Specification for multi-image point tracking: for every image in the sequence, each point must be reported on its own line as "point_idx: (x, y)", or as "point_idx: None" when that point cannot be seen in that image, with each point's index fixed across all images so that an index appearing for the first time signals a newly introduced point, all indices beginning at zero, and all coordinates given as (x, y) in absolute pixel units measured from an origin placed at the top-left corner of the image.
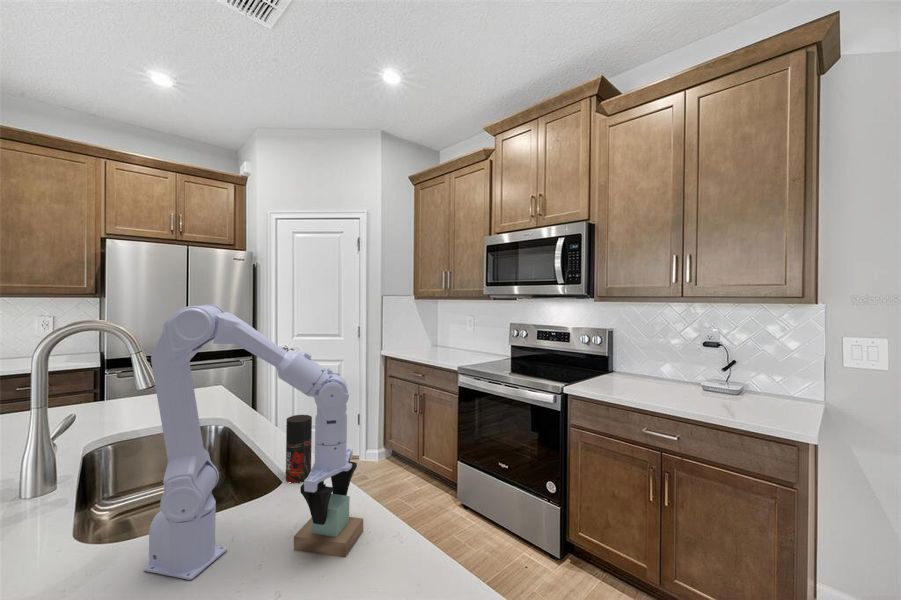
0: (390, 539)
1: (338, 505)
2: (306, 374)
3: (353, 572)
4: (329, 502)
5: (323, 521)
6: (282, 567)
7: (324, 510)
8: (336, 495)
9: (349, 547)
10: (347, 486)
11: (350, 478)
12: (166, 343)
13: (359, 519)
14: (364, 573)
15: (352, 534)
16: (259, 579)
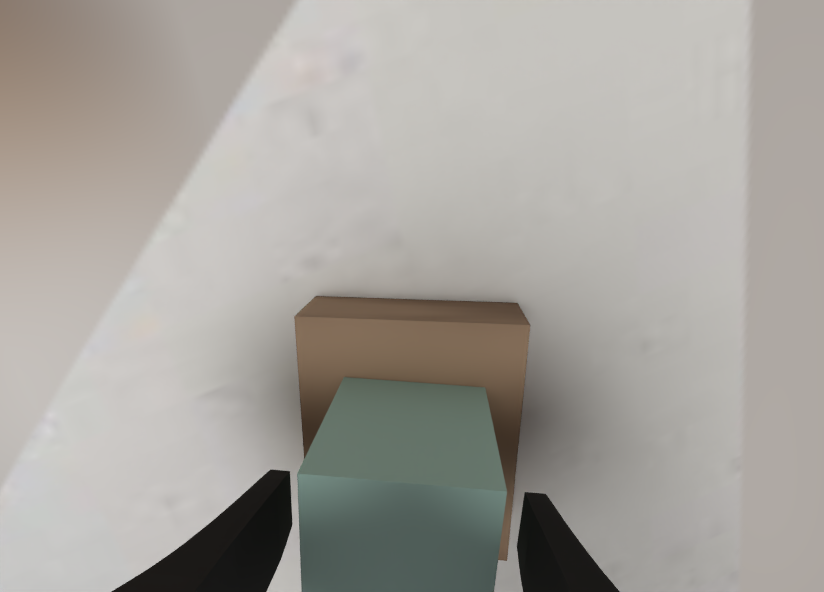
0: (345, 135)
1: (444, 501)
2: None
3: (614, 228)
4: (420, 568)
5: (556, 510)
6: (604, 505)
7: (607, 577)
8: (316, 557)
9: (475, 307)
10: (224, 543)
11: (153, 586)
12: None
13: (309, 333)
14: (617, 174)
15: (441, 320)
16: (673, 545)
